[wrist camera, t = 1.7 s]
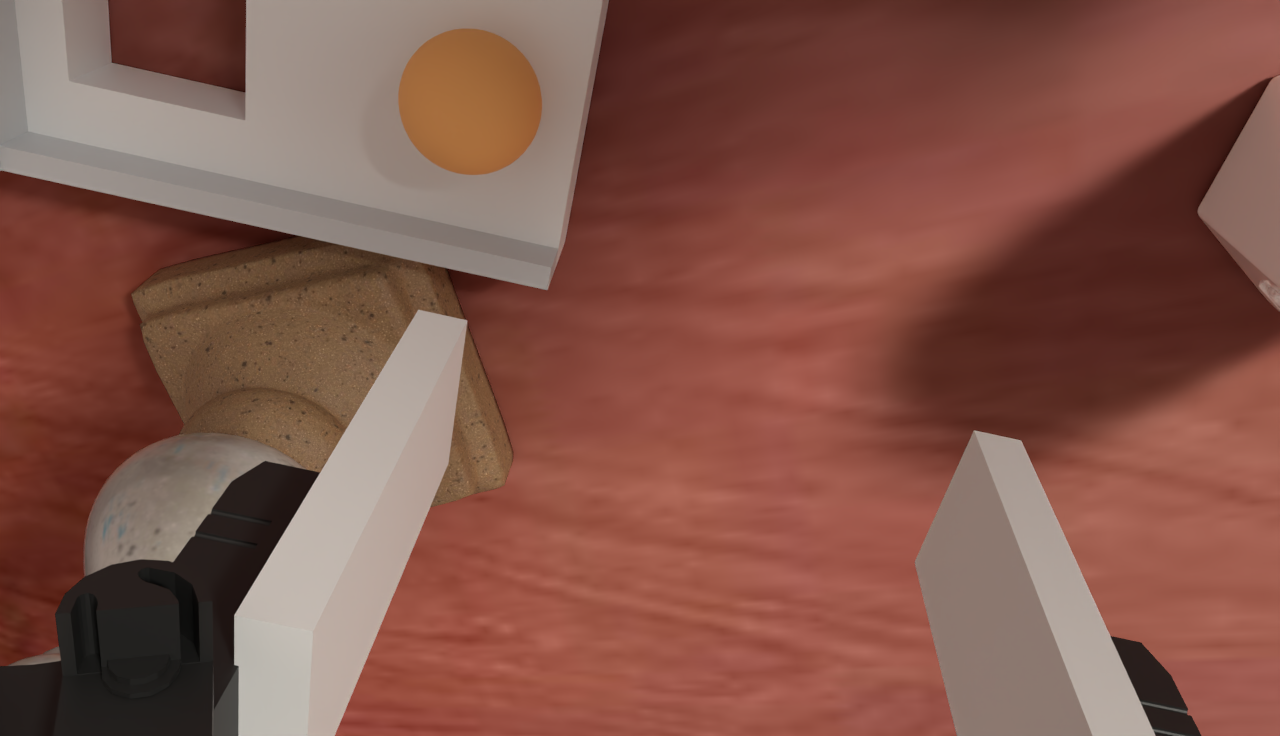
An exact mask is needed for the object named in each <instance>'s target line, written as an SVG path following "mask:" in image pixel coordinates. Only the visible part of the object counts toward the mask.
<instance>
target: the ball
mask: <svg viewBox="0 0 1280 736" xmlns="http://www.w3.org/2000/svg"><path fill="white" fill-rule="evenodd" d="M398 104H399V112H400V116H401V120H402V123H403V126H404V129H405V131H406V133H407V135H408V137H409V139H410V140H411V141H412V143H413V144H414V146H415V147H416V148H417V149H418V150H419V152H420V153H421V154H423V155H424V156H425V157H426V158H427V159H428V160H430V161H431V162H432V163H434V164H436V165H437V166H439V167H441V168H443V169H446V170H448V171H451V172H454V173H458V174H465V175H481V174H488V173H492V172H495V171H498V170H500V169H502V168H504V167H506V166H508V165H510V164H511V163H513V162H514V161H515V160H517V159H518V158H519V157H520V156H521V155H522V154H523V153H524V152H525V151H526V150H527V148H528V147H529V146H530V144H531V143H532V141H533V139H534V137H535V135H536V133H537V130H538V127H539V124H540V120H541V114H542V96H541V90H540V85H539V82H538V79H537V76H536V74H535V72H534V70H533V68H532V66H531V65H530V63H529V61H528V60H527V59H526V57H525V56H524V55H523V54H522V53H521V52H520V51H519V50H518V49H517V48H516V47H515V46H514V45H513V44H511V43H510V42H509V41H507V40H506V39H504V38H502V37H501V36H498V35H496V34H494V33H491V32H488V31H484V30H479V29H464V28H463V29H454V30H450V31H446V32H444V33H441V34H439V35H437V36H435V37H433V38H431V39H430V40H428V41H426V42H425V43H424V44H423V45H422V46H421V47H419V49H418V50H417V51H416V52H415V53H414V54H413V56H412V57H411V58H410V60H409V61H408V63H407V65H406V67H405V69H404V71H403V74H402V78H401V81H400V85H399V92H398Z"/></svg>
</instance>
